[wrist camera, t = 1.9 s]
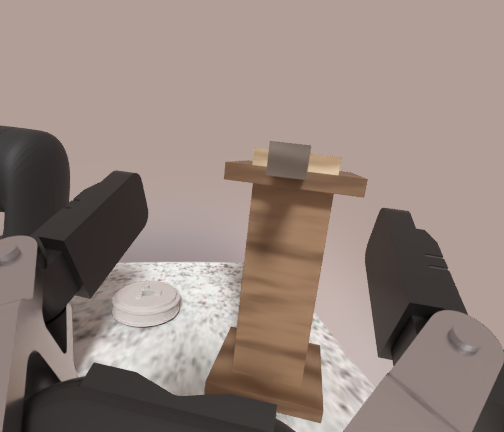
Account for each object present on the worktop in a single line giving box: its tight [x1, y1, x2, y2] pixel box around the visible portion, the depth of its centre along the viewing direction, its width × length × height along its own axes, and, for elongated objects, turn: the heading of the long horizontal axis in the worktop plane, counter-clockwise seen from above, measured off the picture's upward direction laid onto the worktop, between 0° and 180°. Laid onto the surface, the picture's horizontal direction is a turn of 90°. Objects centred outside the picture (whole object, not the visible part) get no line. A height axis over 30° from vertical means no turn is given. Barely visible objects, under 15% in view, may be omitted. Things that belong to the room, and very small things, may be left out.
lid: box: [112, 281, 180, 327], centre depth 60 cm, size 13×13×5 cm
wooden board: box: [252, 141, 341, 180], centre depth 35 cm, size 26×10×2 cm, turn 169°
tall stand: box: [205, 161, 367, 423], centre depth 44 cm, size 14×16×32 cm
